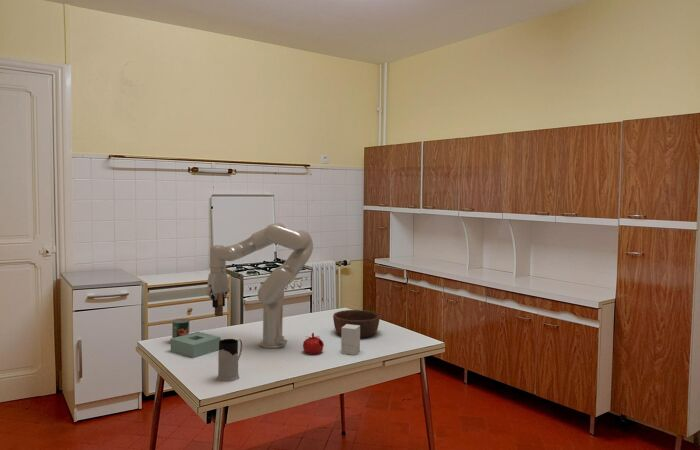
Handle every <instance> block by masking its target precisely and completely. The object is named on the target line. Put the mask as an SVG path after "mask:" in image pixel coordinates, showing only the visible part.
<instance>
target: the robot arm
mask: <svg viewBox="0 0 700 450" xmlns="http://www.w3.org/2000/svg"><path fill="white" fill-rule="evenodd" d="M273 244H275V245H278V246H281V247H284V248H287V249H290V250H293V251H292V252H291V253H290V255H288V257H287V259H286V260H285V261H284V262H283V263H282V264H281V265H280V266H278V267H276V268H275V269H273V270H272V272H271V273H270V274H269V275H268V277H267V278H266V279H265V280H264V281H263V283H262V284H261V285H260V287H259V289H258V291H257V298H258V301H260V303H261V304H263V309H262V310H263V311H262V340H260V341H259V346H260V347H261V348H265V349H278V348H283V347H284V346H286V345H287V343H288V339H285V336H284V335H283V319H284V318H283V317H284V315H283V313H284V312H283V311H284V298H285V289H286V288H287V286H289V285H290V284H291V283H292V282H294V280H295V279H296V277H297V276H298V274H299V273H300V272H301V271H302V270H303V268H304V267H305V266H306V264H307V262H308V261H309V259H310V258H311V256H312V253H313V251H314V250H313V249H314V243H313V239H312V237H311V235H310V233H309V232H307V231H305V230H300V229H299V230H296V231H295V230H294V231H293V230H291V229H288V228H287V227H286V225H284V224H283V223H280V222H276V223H271V224H269V225H267V226H266V227H264V228H262V229H260V230H258V231H256V232H254V233H252V234H251V235H250V237H248V238H246V239H244V240H241V241H239V242H238V243H236V244H231V245H227V246H225V245H221V244H220V245H219V244H216V245H211V246H210V247H209V264H210V265H209V267H210V268H209V269H210V271H209V272H210V273H208V277H207V293H206V296H208V297H209V298H210V300H212V308H213V309H215V308H218V300H217V294H218V293H221V292H222V293H223V307H225V306H226V300H225V299H226V297H227V295H228V293H230V288H229V278H228V273H227V270H228V267H227V262H234V261H236V260H240V259H241V258H244V257H246V256H248V255H251V254H253V253H255V252H257V251H260V250H263V249H264V248H267V247H268V246H271V245H273ZM214 295H215V296H214Z"/></svg>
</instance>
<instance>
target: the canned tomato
mask: <svg viewBox="0 0 700 450" xmlns="http://www.w3.org/2000/svg"><path fill="white" fill-rule="evenodd" d="M171 324H172V328H171V332H172V334H171V335H172V338H175V337H179V336H183V335H187V334H190V319H189V318H177V319H173V320H172V323H171Z"/></svg>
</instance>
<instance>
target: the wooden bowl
mask: <svg viewBox="0 0 700 450" xmlns="http://www.w3.org/2000/svg"><path fill="white" fill-rule="evenodd" d="M332 317H333V320H332V321H333V325H334V329H335V331H336V333H337V334H338V335H339V336H340V337H341V328H342V327H343V326H344V325H346V324H350V325H360V339H367V338H372V337H373V336H375V334H376V333H377V331H378V328H379V325H380V317H381V316H380V315H379V313H377V312H374V311H369V310H364V309H363V310H362V309H347V310H345V309H344V310H340V311H337V312H334V313H333V315H332Z"/></svg>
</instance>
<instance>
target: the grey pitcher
mask: <svg viewBox="0 0 700 450" xmlns="http://www.w3.org/2000/svg"><path fill="white" fill-rule="evenodd" d="M239 342H240V348H239ZM242 350H243V341H242V339H234V338H224V339H220V341H219V350H218V352H217V353H218V355H217V358H218V359H217V360H218V369H217V370H218V371H217V372H218V373H217V377H216V378H217V380H218V381H219V382H226V383H227V382H233V381H236V380H239V379H240V375H239V360H240V358H241V355H242V352H243V351H242Z"/></svg>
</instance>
